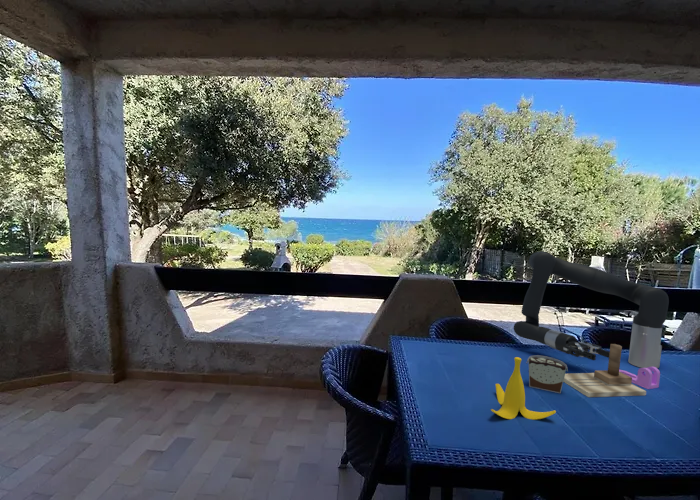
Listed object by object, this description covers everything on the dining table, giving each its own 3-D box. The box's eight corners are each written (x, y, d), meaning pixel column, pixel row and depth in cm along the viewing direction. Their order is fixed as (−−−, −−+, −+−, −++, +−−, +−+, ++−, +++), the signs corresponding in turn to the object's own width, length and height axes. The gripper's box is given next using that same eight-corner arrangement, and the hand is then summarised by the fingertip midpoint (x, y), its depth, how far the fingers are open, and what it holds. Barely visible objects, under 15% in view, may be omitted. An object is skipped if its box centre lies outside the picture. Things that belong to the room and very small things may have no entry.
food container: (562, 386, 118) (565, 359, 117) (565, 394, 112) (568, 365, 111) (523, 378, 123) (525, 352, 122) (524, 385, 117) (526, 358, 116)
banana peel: (497, 392, 112) (500, 343, 110) (556, 422, 96) (562, 366, 95) (464, 405, 103) (468, 352, 102) (523, 440, 87) (529, 378, 86)
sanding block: (615, 377, 123) (619, 342, 122) (631, 385, 117) (635, 348, 116) (593, 377, 122) (597, 342, 121) (608, 385, 116) (612, 348, 115)
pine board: (608, 376, 128) (609, 372, 128) (645, 395, 114) (646, 391, 114) (556, 377, 125) (557, 373, 125) (588, 397, 111) (588, 392, 111)
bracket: (658, 387, 120) (660, 369, 120) (648, 389, 118) (650, 370, 118) (619, 372, 132) (621, 355, 132) (609, 373, 131) (611, 356, 130)
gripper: (549, 333, 135) (591, 348, 120) (572, 330, 140) (615, 344, 125) (547, 352, 135) (589, 368, 120) (571, 348, 141) (613, 363, 126)
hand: (602, 356), depth 123 cm, fingers open, 8 cm apart
